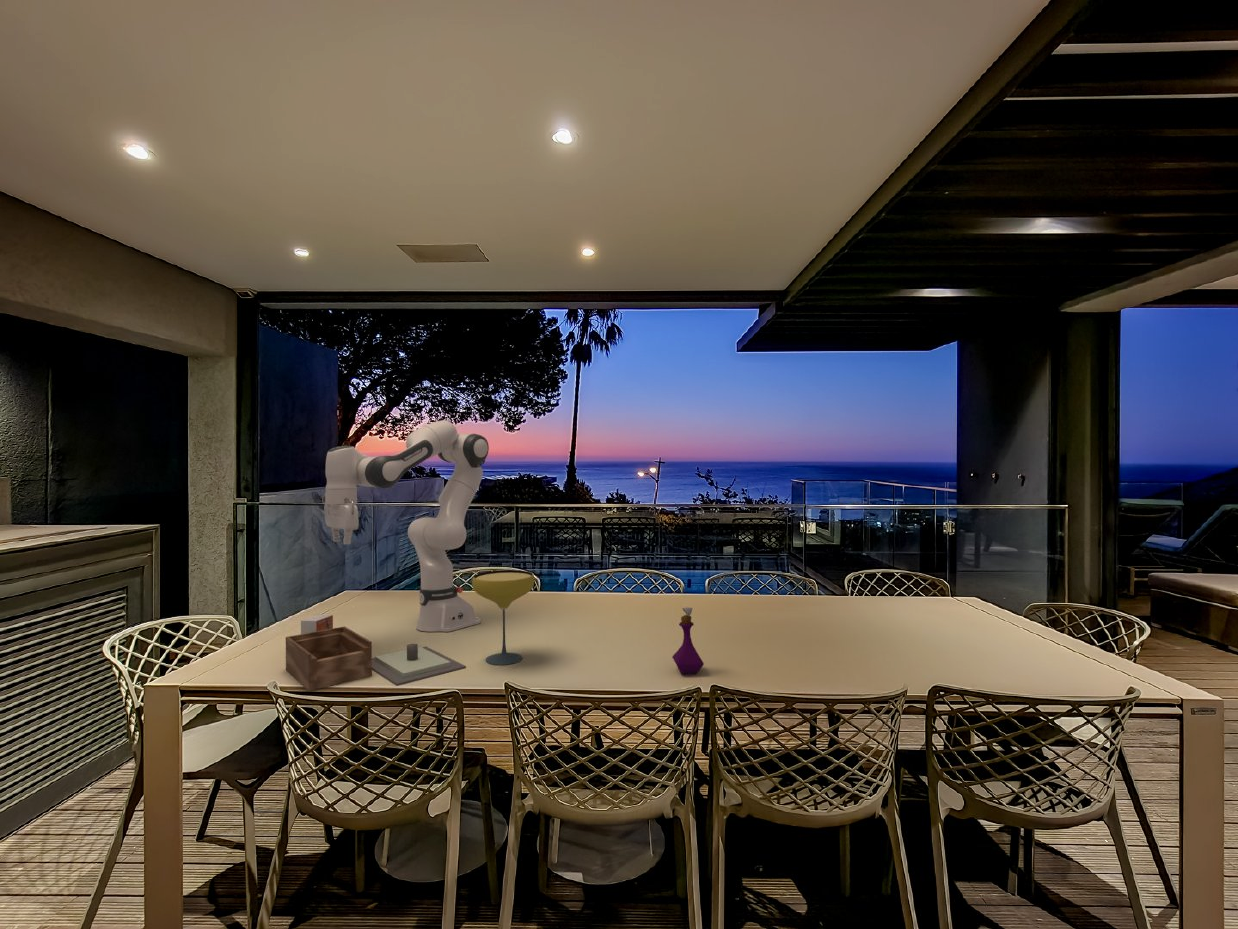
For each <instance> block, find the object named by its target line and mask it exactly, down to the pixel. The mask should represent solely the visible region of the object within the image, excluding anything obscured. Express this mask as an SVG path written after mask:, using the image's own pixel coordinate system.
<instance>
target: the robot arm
mask: <svg viewBox="0 0 1238 929" xmlns="http://www.w3.org/2000/svg"><path fill="white" fill-rule="evenodd" d="M405 447H406V448H405V449H403V450H402V451H400V452H397V453H396V454H394V455H383V456H382V455H380V456H369V455H367V454H364V453H362V452H360V451H358V449H356V447H355V446H352V445H343V446H335V447H332V448H330V449H329V450H328V451H327V454H326V458H325V478H326V485H325V493H324V495H323V496H322V497H321V498H322V500H321V502H322V504H324V507H323V511H324V512H323V513H324V523H325V525H326V526H327V527H330V528H331V534H332V541H333V542H335V543H338V542H341V535H340V530H343V533H344V534H343V535H344V536H343V538H342V542H343V543H342V544H343V545H351V544H352V536H353V531H355V530H358V529H359V526H360V523H359V511H358V510H359V508H358V506H357V505H356V504H358V486H359V487H368V488H369V487H370V488H381V489H389V488H392V487H393V486H395V485H396V484H397V483H398V482H399V481H400V479H401V478H402V477H403V476H404V475H405V474H406V473H407V472H408V471H410V470H412V469H413V468H415V467H417V466H418V465H420V464H422V463H423V462H424V461H426V460H429V459H431V458H433V457H435V456H438V458H439V459H440V460H441V461H443V462H445V463H454V470H453V473H451V476H450V477H449V478H448V479H447V480H448V481H447V482H446V484H445V486H444V488H443V490H442V491H441V493H440V495H439V496H438V500H437V501H438V504H439V511H438V515H437V516H436V517H429V516H426V517H425V516H424V517H421V518H418V519H415V520H413V521H412V522H411V523H409V524H410V525H409V526H408V528H407V538H408V539H409V541H410V542H411V543H412V545H413V547H414V549H415V551H416V555H417V558H418V562H419V563H418V564H419V567H420V587H419V599H418V600H419V604H420V608H419V615H418V621H417V624H416V630H418V631H422V632H430V633H431V632H432V633H433V632H445V633H448V632H449V633H450V632H453V631H457V630H460V629H463V628H467V627H471V626H475V625H478V624H481V623H482V620H481V618H480V617H478V616H476V615H475V611H474V607H473V605H472V604H471V603H469V602H468V601H466V600H465V599H463V598H462V597H461V596H459V594H462V593H463V591H464V588H463V587H461V586H455V585H454V568H453V567H454V566H453V562H452V561H451V560H450V559H449V558H448V555H447V553H446V551H450V550H455V549H458V548H460V547H462V546H463V545H464V544H465V541H467V540H466V539H467V529H466V527H465V517H466V515H467V511H468V509H469V507H470V505H471V503H472V501H473V499H474V497H475V495H476V493H477V491H478V489H479V487H480V484H481V481H482V480H483V475H484V471H483V468H482V467H481V466H483V465H484V463H486V459H487V457H488V456H489V450H490V446H489V442H488V439H487V438H486V437H484V436H483V435H481V434H477V433H458V430H457V427H456V426H455V425H454V424H453V422H451V421H449V420H445V419H442V420H437V421H434V422H431V423H428V424H425V425H423V426H421V427H419V428H417V429H415V430H413V431H412V432H410V434H408V435H407V437H406V440H405ZM458 593H459V594H458Z"/></svg>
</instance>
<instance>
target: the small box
mask: <svg viewBox="0 0 1238 929" xmlns="http://www.w3.org/2000/svg"><path fill="white" fill-rule="evenodd" d="M333 628H334V615H333V614H316V615H313V616H310V617H308V618H305V619H302V620H300V634H305V633H311V632H316V631H322V630H328V629H333Z"/></svg>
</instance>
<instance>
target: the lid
mask: <svg viewBox="0 0 1238 929" xmlns="http://www.w3.org/2000/svg"><path fill="white" fill-rule="evenodd" d="M422 647H423V646H419V645H418V644H417V643H411V644H407V645H406V649H403V650H398V651H395V652H390V653H389V652H388V653H385V654H380V655H375V656H374V658H375V661H377V662H378V663H380V664H382V665H383V666H385V667H387V668H388V669H390V670H391V671H393V672H395V673H396V674H398V675H399V676H401V677H403V678H405V677H409V676H413V675H417V674H421V673H425V672H429V671H433V670H437V669H441V668H445V667H449V666H451V662H450V661H448V660H446V659H444V658H442V657H440V656H438V655H436V654H434V653H432V652H430V651H428V650H426V649H424V648H422Z"/></svg>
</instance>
